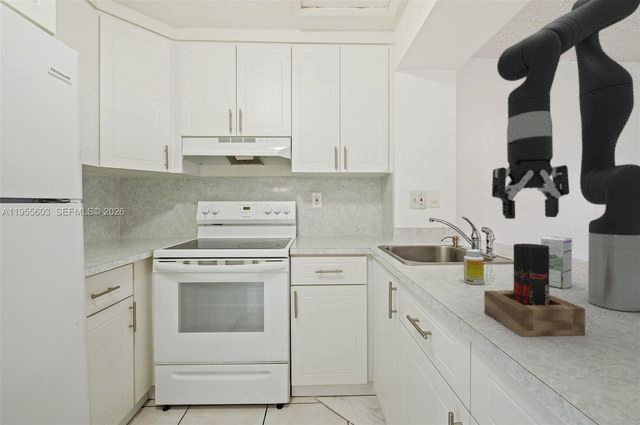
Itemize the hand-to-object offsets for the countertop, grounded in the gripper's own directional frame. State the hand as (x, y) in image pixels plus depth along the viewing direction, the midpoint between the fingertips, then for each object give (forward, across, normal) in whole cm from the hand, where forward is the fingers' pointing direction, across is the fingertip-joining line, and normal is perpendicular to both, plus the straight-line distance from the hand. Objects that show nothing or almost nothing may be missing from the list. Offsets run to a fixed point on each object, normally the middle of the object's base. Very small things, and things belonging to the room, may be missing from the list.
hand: (530, 217), depth 60 cm
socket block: (+22, 0, 0) cm, 22 cm away
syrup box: (+22, -27, -26) cm, 44 cm away
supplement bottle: (+22, -5, -31) cm, 39 cm away
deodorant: (+21, 0, 0) cm, 21 cm away
